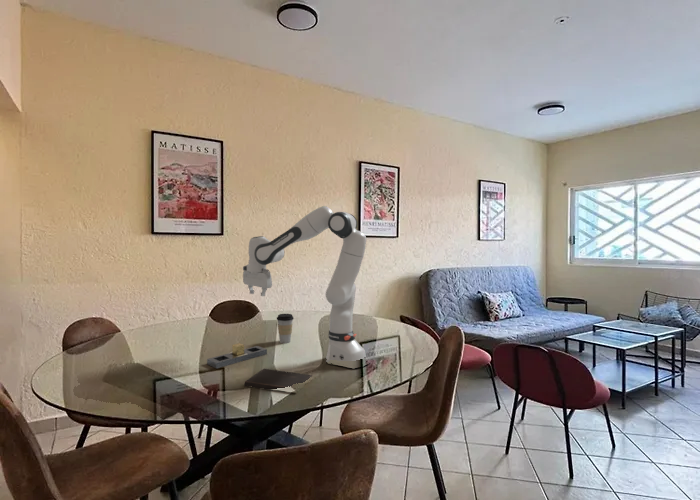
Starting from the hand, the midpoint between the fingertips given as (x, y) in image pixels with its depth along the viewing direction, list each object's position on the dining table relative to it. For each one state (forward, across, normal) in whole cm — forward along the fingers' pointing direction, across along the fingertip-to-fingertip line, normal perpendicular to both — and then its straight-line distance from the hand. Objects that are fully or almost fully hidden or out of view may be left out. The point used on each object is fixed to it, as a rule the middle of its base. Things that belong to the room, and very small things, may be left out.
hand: (257, 294), depth 206 cm
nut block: (+29, -4, +14) cm, 33 cm away
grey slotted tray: (+29, -4, +14) cm, 33 cm away
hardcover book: (+30, -41, +19) cm, 54 cm away
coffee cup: (+29, +2, -20) cm, 36 cm away
